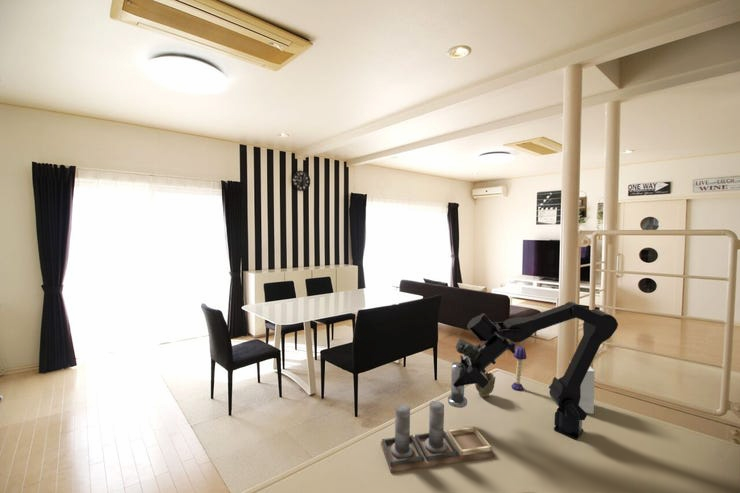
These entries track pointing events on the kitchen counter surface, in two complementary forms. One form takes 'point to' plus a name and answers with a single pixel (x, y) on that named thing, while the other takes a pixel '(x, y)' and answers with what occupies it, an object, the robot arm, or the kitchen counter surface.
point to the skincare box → (587, 392)
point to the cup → (488, 388)
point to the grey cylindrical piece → (457, 392)
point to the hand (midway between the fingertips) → (453, 382)
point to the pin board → (431, 442)
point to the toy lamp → (519, 366)
